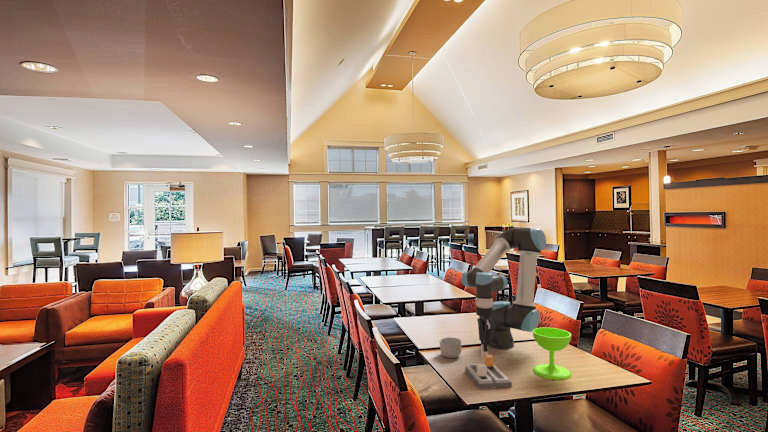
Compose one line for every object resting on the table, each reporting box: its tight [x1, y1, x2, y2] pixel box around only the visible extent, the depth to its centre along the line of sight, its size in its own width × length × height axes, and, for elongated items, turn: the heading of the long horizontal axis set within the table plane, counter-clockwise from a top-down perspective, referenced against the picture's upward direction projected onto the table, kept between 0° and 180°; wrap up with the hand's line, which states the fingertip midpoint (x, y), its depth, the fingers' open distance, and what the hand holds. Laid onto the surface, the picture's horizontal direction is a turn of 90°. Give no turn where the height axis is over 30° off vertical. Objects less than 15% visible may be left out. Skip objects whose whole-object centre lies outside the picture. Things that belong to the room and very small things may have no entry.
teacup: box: [439, 336, 462, 359], centre depth 198 cm, size 14×11×8 cm
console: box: [464, 362, 513, 390], centre depth 169 cm, size 14×18×3 cm
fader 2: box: [483, 354, 495, 369], centre depth 175 cm, size 3×3×5 cm
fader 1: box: [476, 363, 487, 379], centre depth 165 cm, size 3×3×5 cm
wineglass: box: [532, 326, 572, 381], centre depth 175 cm, size 16×16×18 cm
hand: (484, 357), depth 180 cm, fingers closed
